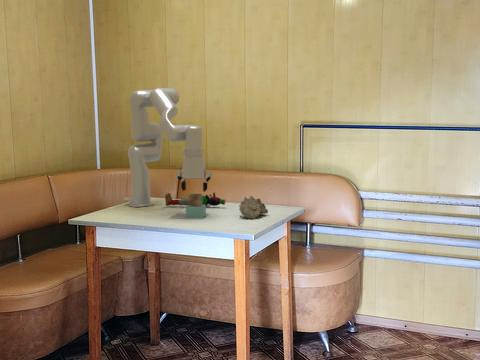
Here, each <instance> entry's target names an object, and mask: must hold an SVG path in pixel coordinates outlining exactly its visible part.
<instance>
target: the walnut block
mask: <svg viewBox="0 0 480 360" xmlns="http://www.w3.org/2000/svg"><path fill="white" fill-rule="evenodd" d="M187 196H188V197H187V199H188V198H189V207H200V206H201V205H202V196H203V194H202V193H190V194H189V195H187Z"/></svg>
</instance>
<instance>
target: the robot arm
mask: <svg viewBox="0 0 480 360" xmlns="http://www.w3.org/2000/svg"><path fill="white" fill-rule="evenodd" d="M128 101H129V109H130V113H131V117H130V118H131V121H130V122H131V124H130V126H131V127H130V130H131V131H130V134H131V139H132V141H134V142H139V143H136V144H131V145H130V146H129V147H128V148H127V157H128V162H129V168H130V186H131V189H130V190H131V196H130V197H129V196H125V197H124V201H125V202H129V203H128V206H129V207H133V208H144V207H145V208H146V207H152V206H154V204H155V203H154V201H152V200H151V183H150V179H151V178H150V177H151V176H150V170H149V167H148V166H147V164H146V163H149V162H151V163H152V162H157V161H159V160H160V159H161V156H162V151H163V150H162V146H163V145H162V144H163V135H164V137H165V138H166V140H168V141H169V142H173V143H175V142H177V143H178V142H185V146H184V147H185V150H182V154H184V156H183V158H182V159H183V160H182V169H179V170H177V171H175V175H176V177H177V180H179V181H180V182H181V189H182V192H185V191H186V190H187V183H186V180H188V179H189V180H190V179H191V180H202V182H203V183H202V192H206V191H207V190H208V183H209V181H210V180H211V179H212V177H213V175H214V173H213V172H212V171H210V170H209V169H206V160H205V156H204V155H203V128H202V127H201V126H200V125H193V124H173V123H171V120H172V119H174V118H175V117H176V116H177V114H178V111H179V109H178V106H176V105H177V104H178V103H179V101H180V94H179V92H178V91H177V89H175V88H173V87H157V88H153V89H140V90H139V89H138V90H134V91H133V92H132V93H131V94H130V95H129V100H128ZM146 108H155V109H156V111H157V112H158V114H159V115H160V119H159V123H157V122H155V121H153V122H152V121H150V122H149V117H150V115H149V112H148V110H147V109H146ZM140 142H146V143H140ZM181 175H182V176H181ZM207 175H208V177H206V176H207Z"/></svg>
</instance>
